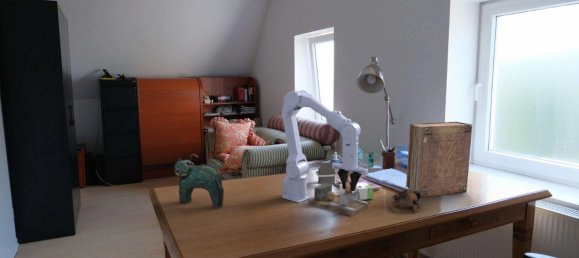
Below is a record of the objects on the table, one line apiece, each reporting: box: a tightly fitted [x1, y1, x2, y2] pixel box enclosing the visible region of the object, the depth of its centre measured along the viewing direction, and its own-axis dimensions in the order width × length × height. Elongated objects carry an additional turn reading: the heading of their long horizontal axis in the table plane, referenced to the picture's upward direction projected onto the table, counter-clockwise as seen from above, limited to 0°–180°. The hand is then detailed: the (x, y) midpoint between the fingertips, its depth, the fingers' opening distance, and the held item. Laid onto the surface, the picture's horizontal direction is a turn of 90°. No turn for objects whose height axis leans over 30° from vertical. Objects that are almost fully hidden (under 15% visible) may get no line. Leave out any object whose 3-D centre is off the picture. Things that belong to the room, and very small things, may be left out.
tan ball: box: [327, 190, 337, 200], centre depth 151 cm, size 4×4×4 cm
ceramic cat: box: [173, 153, 225, 209], centre depth 148 cm, size 20×6×20 cm, turn 70°
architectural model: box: [315, 159, 339, 186], centre depth 178 cm, size 19×17×11 cm
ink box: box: [338, 181, 374, 201], centre depth 159 cm, size 9×5×12 cm
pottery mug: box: [392, 189, 422, 213], centre depth 148 cm, size 12×10×8 cm
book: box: [405, 121, 473, 198], centre depth 166 cm, size 25×9×30 cm, turn 109°
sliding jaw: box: [339, 179, 358, 207], centre depth 145 cm, size 3×8×9 cm, turn 140°
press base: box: [307, 183, 369, 217], centre depth 149 cm, size 20×12×6 cm, turn 50°
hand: (349, 189), depth 145 cm, fingers closed on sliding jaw, 3 cm apart
